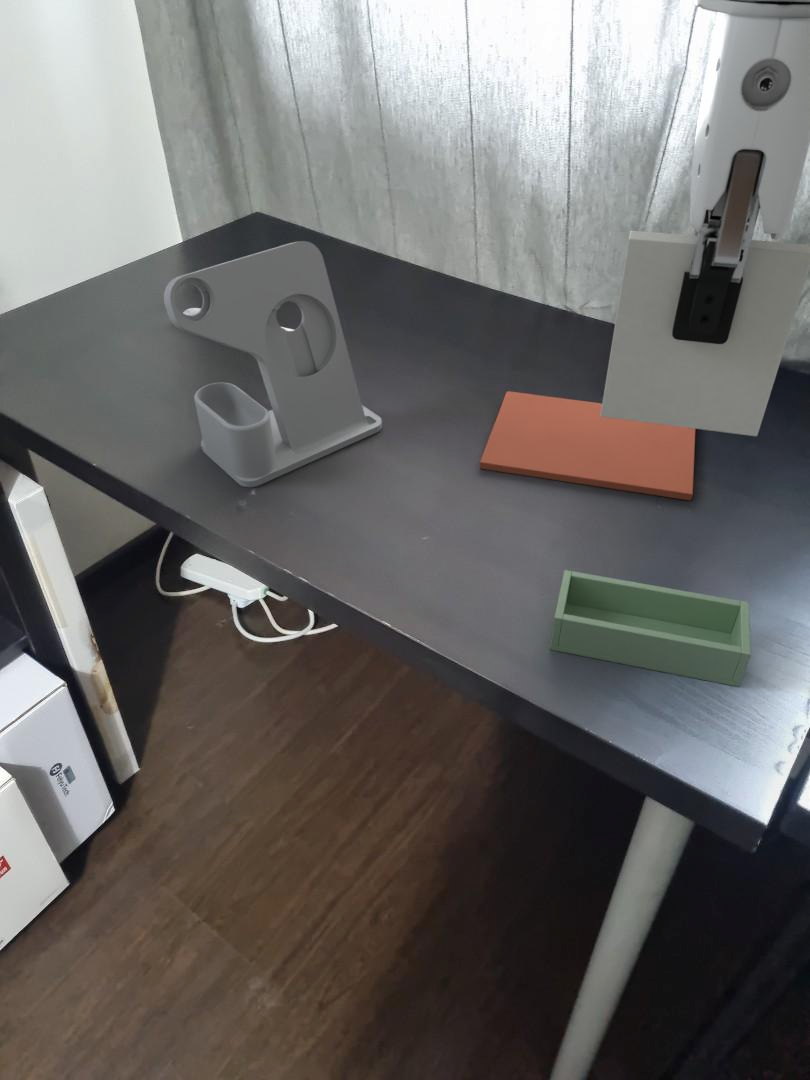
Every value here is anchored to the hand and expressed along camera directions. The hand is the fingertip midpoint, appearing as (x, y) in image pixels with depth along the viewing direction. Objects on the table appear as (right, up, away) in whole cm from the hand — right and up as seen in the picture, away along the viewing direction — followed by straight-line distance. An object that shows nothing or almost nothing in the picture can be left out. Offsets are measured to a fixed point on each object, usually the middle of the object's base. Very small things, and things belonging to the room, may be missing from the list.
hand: (699, 330), depth 51 cm
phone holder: (-30, -2, +35) cm, 46 cm away
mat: (+1, -3, +33) cm, 33 cm away
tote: (0, -21, +13) cm, 24 cm away
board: (0, -5, +4) cm, 7 cm away
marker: (-39, +13, +53) cm, 67 cm away
